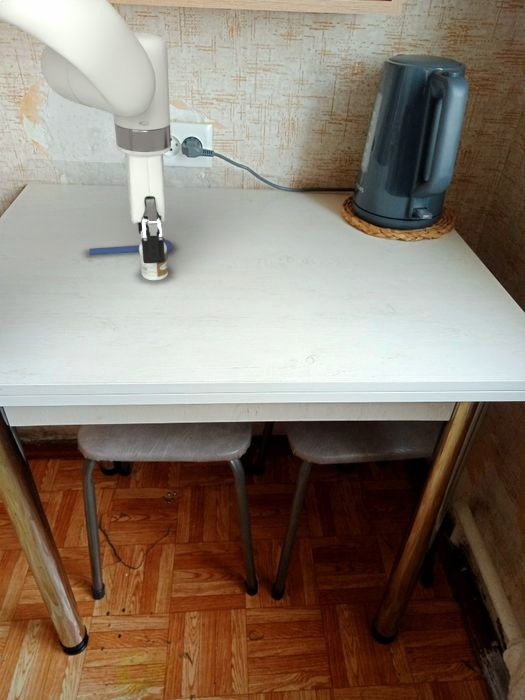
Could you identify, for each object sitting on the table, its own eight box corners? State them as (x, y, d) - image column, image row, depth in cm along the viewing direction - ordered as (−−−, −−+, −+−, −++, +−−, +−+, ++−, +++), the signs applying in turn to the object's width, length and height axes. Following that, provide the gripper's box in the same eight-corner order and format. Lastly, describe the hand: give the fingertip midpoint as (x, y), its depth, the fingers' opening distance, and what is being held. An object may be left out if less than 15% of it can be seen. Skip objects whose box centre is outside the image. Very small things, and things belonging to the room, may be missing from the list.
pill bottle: (165, 282, 84) (162, 239, 79) (139, 280, 84) (134, 237, 79) (170, 268, 87) (168, 226, 82) (144, 266, 87) (140, 224, 82)
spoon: (89, 259, 88) (89, 254, 87) (89, 247, 91) (89, 242, 90) (172, 253, 91) (172, 248, 90) (169, 242, 94) (169, 237, 94)
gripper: (113, 119, 77) (124, 224, 87) (118, 157, 64) (130, 276, 74) (163, 119, 78) (168, 223, 89) (178, 157, 66) (181, 273, 76)
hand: (151, 247), depth 82 cm, fingers open, 9 cm apart
